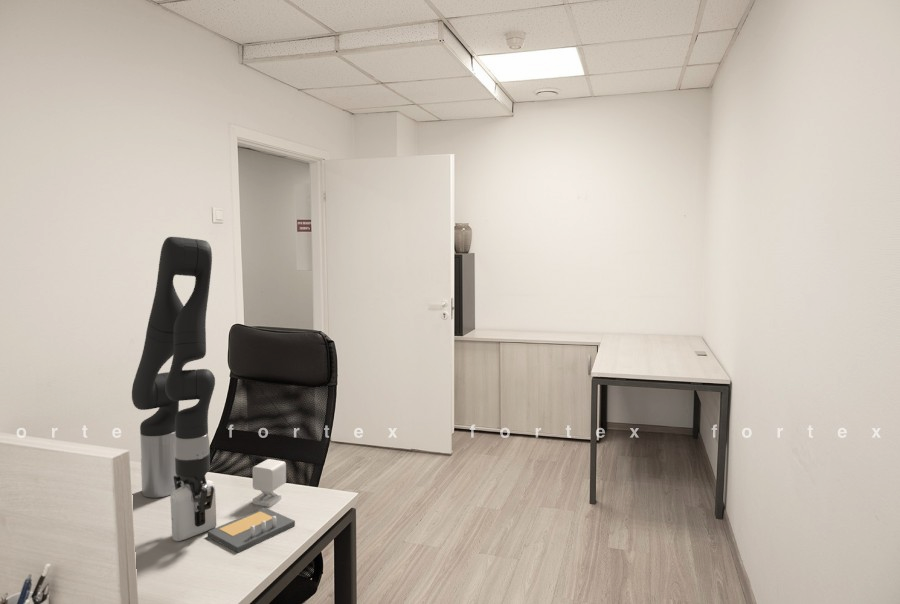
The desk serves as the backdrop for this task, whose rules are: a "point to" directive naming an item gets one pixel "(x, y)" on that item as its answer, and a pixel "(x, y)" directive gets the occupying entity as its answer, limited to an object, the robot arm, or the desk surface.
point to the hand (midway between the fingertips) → (194, 521)
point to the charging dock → (251, 529)
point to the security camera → (268, 481)
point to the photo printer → (189, 514)
